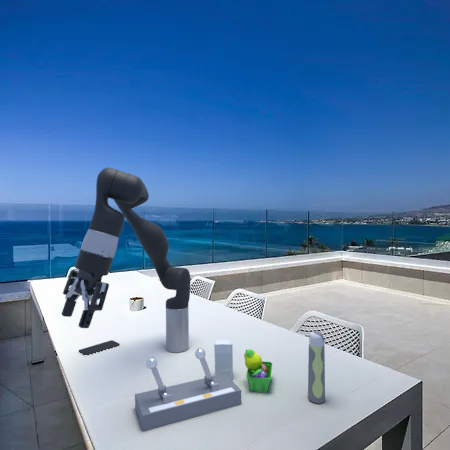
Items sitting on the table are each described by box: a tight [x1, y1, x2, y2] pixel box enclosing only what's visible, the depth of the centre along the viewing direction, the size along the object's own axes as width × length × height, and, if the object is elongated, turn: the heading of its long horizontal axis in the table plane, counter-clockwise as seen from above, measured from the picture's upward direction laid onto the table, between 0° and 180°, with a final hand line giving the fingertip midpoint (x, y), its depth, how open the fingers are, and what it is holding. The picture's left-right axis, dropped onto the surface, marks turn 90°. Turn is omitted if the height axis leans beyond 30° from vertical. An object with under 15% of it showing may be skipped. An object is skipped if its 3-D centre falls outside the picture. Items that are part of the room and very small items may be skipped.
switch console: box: [134, 374, 242, 432], centre depth 93 cm, size 11×28×6 cm, turn 115°
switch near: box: [145, 356, 168, 398], centre depth 89 cm, size 4×3×12 cm
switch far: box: [194, 347, 215, 387], centre depth 95 cm, size 4×3×12 cm
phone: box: [78, 339, 121, 356], centre depth 134 cm, size 7×1×15 cm
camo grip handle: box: [307, 330, 326, 404], centre depth 95 cm, size 5×5×20 cm
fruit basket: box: [243, 348, 273, 393], centre depth 104 cm, size 11×9×11 cm
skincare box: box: [213, 339, 234, 381], centre depth 109 cm, size 6×4×12 cm
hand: (74, 321), depth 73 cm, fingers open, 8 cm apart
